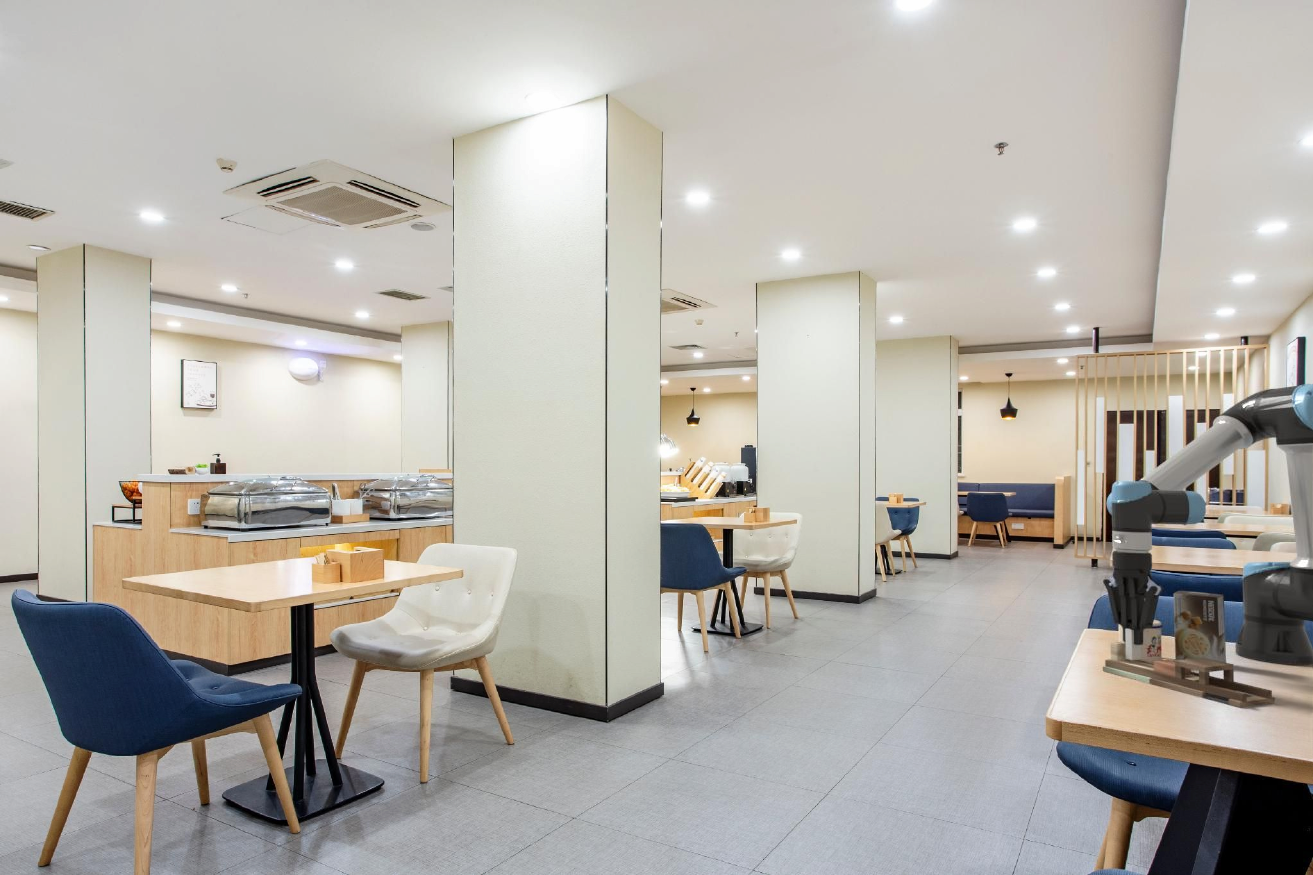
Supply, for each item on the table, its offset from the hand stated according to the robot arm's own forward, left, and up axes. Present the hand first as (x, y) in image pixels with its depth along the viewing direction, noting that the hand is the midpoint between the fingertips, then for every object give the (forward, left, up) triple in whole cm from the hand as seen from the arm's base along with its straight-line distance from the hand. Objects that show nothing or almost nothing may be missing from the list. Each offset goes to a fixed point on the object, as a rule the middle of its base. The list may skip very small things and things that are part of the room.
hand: (1133, 658), depth 174 cm
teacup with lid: (-15, -10, -3) cm, 18 cm away
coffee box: (-25, -3, -3) cm, 25 cm away
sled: (0, +6, -2) cm, 6 cm away
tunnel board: (0, +11, -3) cm, 11 cm away
